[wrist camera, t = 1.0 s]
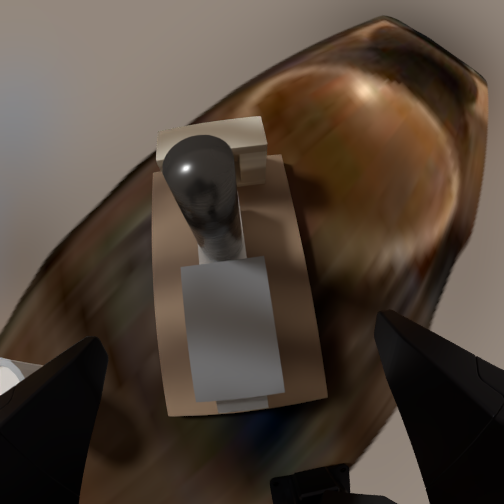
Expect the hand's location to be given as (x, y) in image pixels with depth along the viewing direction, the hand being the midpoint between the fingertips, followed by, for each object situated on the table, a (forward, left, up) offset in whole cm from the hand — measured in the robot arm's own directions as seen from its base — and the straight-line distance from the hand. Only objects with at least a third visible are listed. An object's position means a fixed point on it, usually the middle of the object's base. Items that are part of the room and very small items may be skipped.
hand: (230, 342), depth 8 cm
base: (+5, +1, -14) cm, 15 cm away
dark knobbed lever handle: (+3, +1, -12) cm, 12 cm away
